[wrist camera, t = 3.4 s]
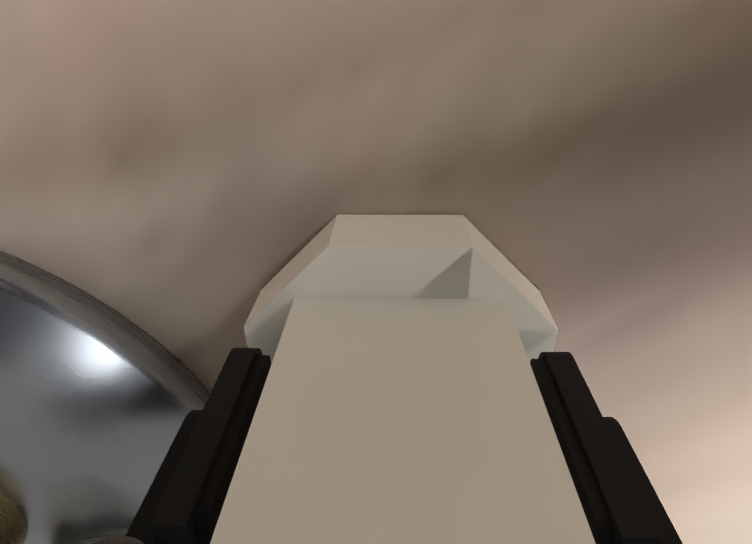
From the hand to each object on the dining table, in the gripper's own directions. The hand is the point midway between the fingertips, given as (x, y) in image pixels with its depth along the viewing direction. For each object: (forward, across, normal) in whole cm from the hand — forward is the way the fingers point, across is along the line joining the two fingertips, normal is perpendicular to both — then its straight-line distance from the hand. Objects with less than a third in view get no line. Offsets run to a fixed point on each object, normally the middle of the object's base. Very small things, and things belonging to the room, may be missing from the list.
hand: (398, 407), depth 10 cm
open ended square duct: (+2, 0, 0) cm, 2 cm away
